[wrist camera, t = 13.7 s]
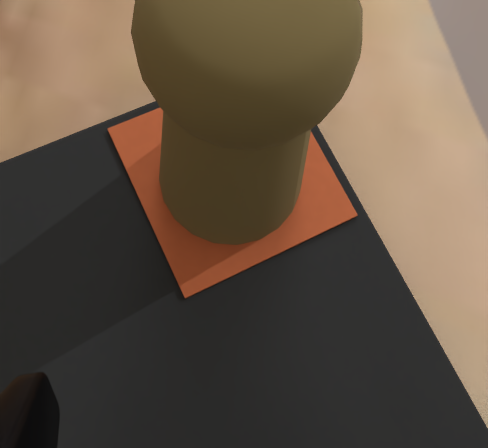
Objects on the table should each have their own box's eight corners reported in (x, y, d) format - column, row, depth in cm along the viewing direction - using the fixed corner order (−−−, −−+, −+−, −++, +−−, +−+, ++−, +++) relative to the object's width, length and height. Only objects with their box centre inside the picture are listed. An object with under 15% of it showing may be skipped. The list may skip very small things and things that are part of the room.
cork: (129, 166, 19) (30, -47, 9) (238, 85, 21) (266, -186, 10) (222, 275, 19) (238, 186, 8) (330, 184, 20) (467, 2, 9)
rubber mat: (529, 518, 18) (547, 528, 17) (91, 806, 15) (83, 837, 14) (274, 62, 22) (277, 49, 21) (-108, 215, 19) (-125, 208, 18)
